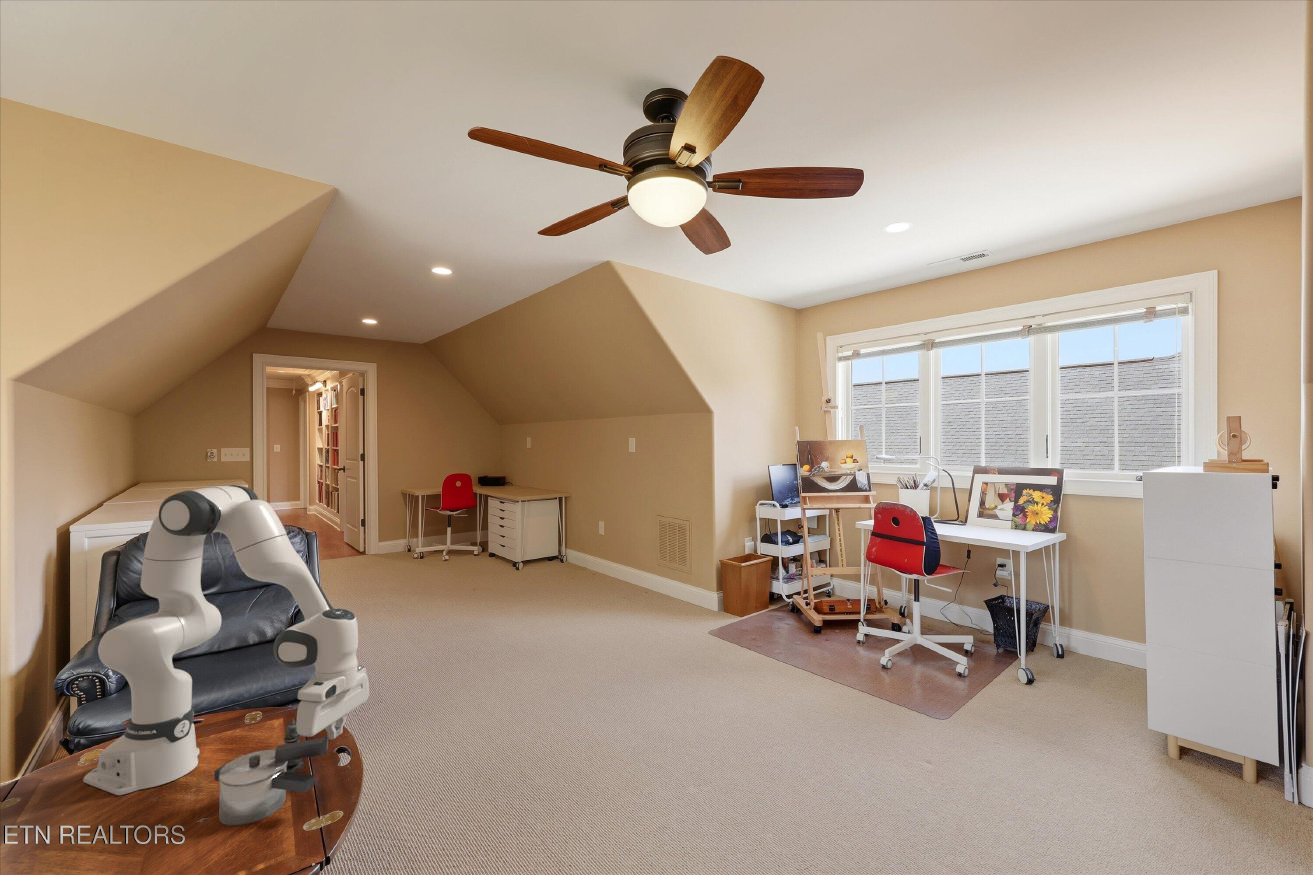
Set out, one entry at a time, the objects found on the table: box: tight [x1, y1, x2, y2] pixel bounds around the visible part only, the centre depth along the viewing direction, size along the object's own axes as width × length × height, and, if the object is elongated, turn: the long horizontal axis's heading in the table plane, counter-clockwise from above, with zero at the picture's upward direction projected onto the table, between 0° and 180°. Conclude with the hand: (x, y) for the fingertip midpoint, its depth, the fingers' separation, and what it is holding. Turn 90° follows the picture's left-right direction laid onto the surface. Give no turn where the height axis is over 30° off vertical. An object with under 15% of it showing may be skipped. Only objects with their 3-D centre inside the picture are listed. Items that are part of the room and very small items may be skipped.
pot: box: [214, 763, 316, 826], centre depth 125 cm, size 23×12×8 cm, turn 80°
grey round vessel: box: [283, 718, 305, 773], centre depth 141 cm, size 6×6×12 cm
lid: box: [218, 736, 329, 786], centre depth 127 cm, size 20×12×4 cm, turn 115°
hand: (334, 736), depth 136 cm, fingers closed
